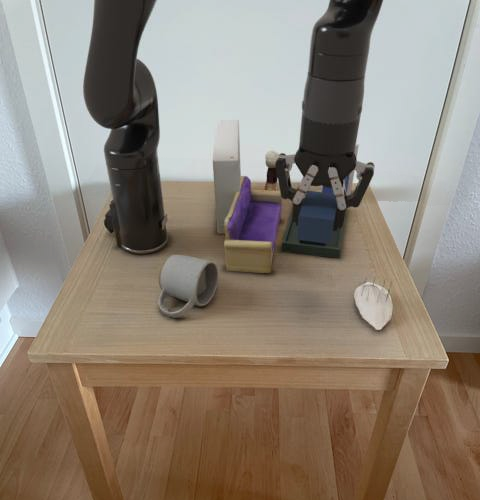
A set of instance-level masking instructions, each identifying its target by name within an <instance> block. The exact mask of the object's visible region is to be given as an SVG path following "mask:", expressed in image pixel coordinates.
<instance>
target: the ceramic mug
mask: <svg viewBox="0 0 480 500" xmlns="http://www.w3.org/2000/svg"><path fill="white" fill-rule="evenodd" d="M218 281H219V269H218V266H217V264H216V263H215V261H213V260H210V259H209V260H208V259H203V258H199V257H194V256H188V255H183V254H171V255H168V257H166V258H165V260H164V261H163V262H162V264H161V266H160V268H159V271H158V284H159V288H160V289H161V292H160V293H159V296H158V300H157V303H158V307H159V309H160V311H161V312H162V313H163V315H165V316H167V317H169V318H171V319H172V318H173V319H175V318H180V317H183V316H185V315H186V314H187V313H189V312H190V310H191V309H193V307H194V306H198V307H204V306H206V305H208V304H209V303H210V302H211V300H212V299H213V297H214V295H215V293H216V291H217V287H218ZM167 296H169V297H173V298H176V299H179V300H182V301H184V302H186V304H185V305H184V306H183V307H182V308H180V309H179V310H176V311H172V312H171V311H169V310H168V308H167V307H165V306H164V302H165V299H166V297H167Z"/></svg>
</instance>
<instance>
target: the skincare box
mask: <svg viewBox="0 0 480 500" xmlns="http://www.w3.org/2000/svg"><path fill="white" fill-rule="evenodd" d="M215 123H216V125H215V127H216V128H215V136H214V144H213V155H212V169H213V171H212V172H213V184H214V185H213V189H214V198H215V199H214V200H215V203H214V204H215V214H216V229H217V234H225V226H224V222H225V218H226V217H227V216H228V214H229V212H230V209H231V206H232V203H233V200H234V198H235V195H236V192H239V187H240V178H241V176H242V173H241V171H242V170H241V149H240V147H241V145H240V143H241V142H240V120H239V119H227V120H226V119H225V120H216V122H215Z"/></svg>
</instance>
